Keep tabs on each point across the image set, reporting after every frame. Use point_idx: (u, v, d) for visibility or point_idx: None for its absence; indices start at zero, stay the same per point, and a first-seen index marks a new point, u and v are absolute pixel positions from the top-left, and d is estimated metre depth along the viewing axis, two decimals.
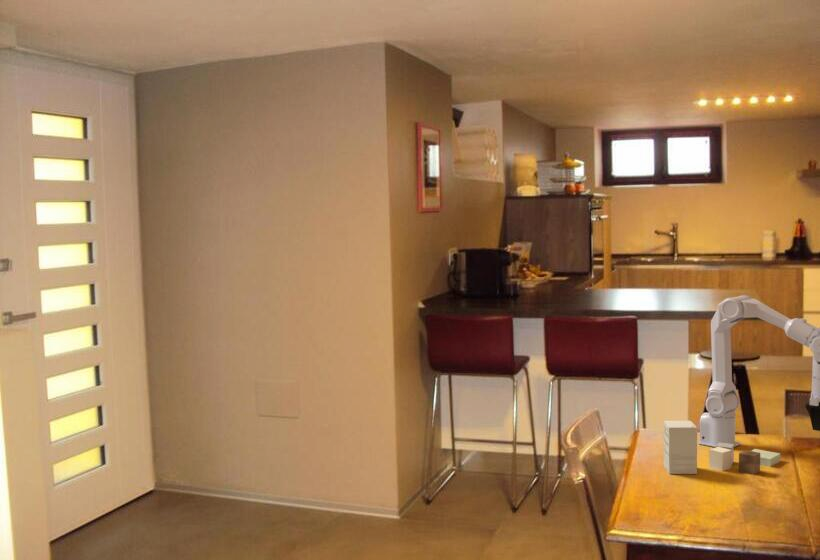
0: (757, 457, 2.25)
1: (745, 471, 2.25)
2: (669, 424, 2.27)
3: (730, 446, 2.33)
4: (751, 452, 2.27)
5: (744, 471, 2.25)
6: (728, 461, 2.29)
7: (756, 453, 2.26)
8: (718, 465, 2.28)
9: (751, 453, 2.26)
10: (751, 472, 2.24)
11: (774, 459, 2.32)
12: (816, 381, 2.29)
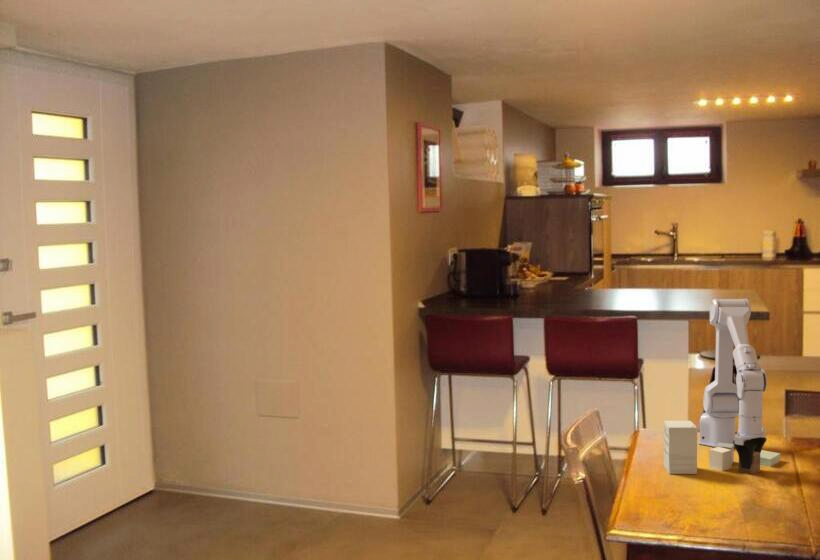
0: (757, 457, 2.25)
1: (745, 471, 2.25)
2: (669, 424, 2.27)
3: (730, 446, 2.33)
4: None
5: (744, 471, 2.25)
6: (728, 461, 2.29)
7: (756, 453, 2.26)
8: (718, 465, 2.28)
9: None
10: (751, 472, 2.24)
11: (774, 459, 2.32)
12: (742, 419, 2.24)
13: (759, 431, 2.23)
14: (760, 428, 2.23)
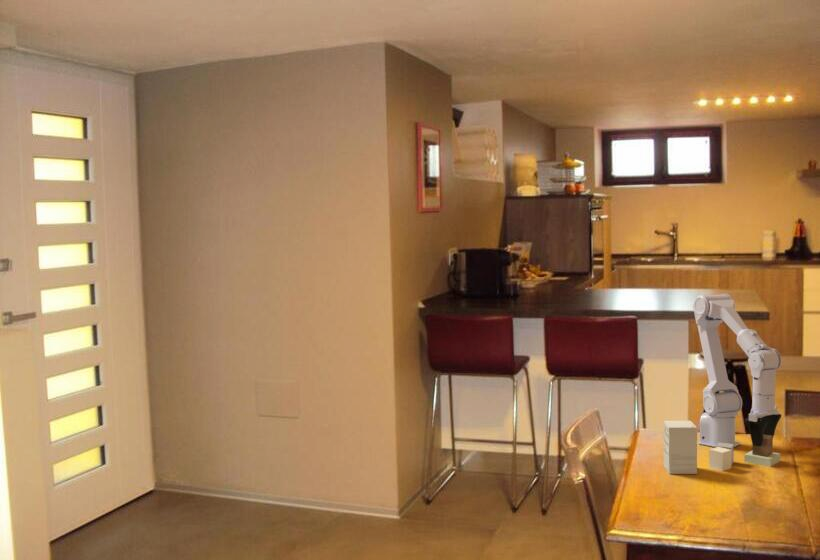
0: (770, 440, 2.33)
1: (759, 453, 2.34)
2: (669, 424, 2.27)
3: (730, 446, 2.33)
4: (764, 435, 2.35)
5: (758, 453, 2.34)
6: (728, 461, 2.29)
7: (769, 436, 2.34)
8: (718, 465, 2.28)
9: (764, 436, 2.34)
10: (765, 454, 2.33)
11: (774, 459, 2.32)
12: (756, 397, 2.32)
13: (772, 408, 2.31)
14: (773, 406, 2.32)
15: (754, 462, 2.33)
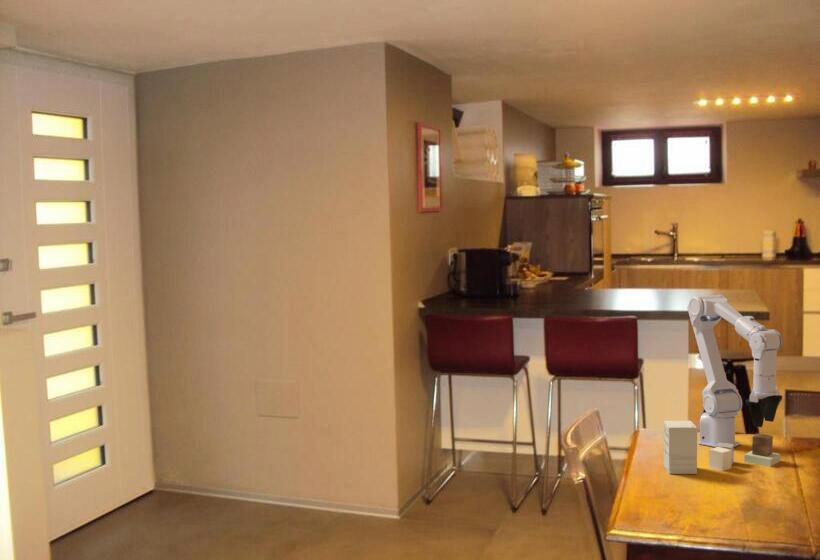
0: (770, 440, 2.34)
1: (759, 453, 2.34)
2: (669, 424, 2.27)
3: (730, 446, 2.33)
4: (764, 435, 2.35)
5: (758, 453, 2.34)
6: (728, 461, 2.29)
7: (769, 436, 2.35)
8: (718, 465, 2.28)
9: (764, 436, 2.35)
10: (765, 454, 2.33)
11: (774, 460, 2.32)
12: (757, 378, 2.32)
13: (773, 389, 2.31)
14: (774, 386, 2.31)
15: (754, 462, 2.33)
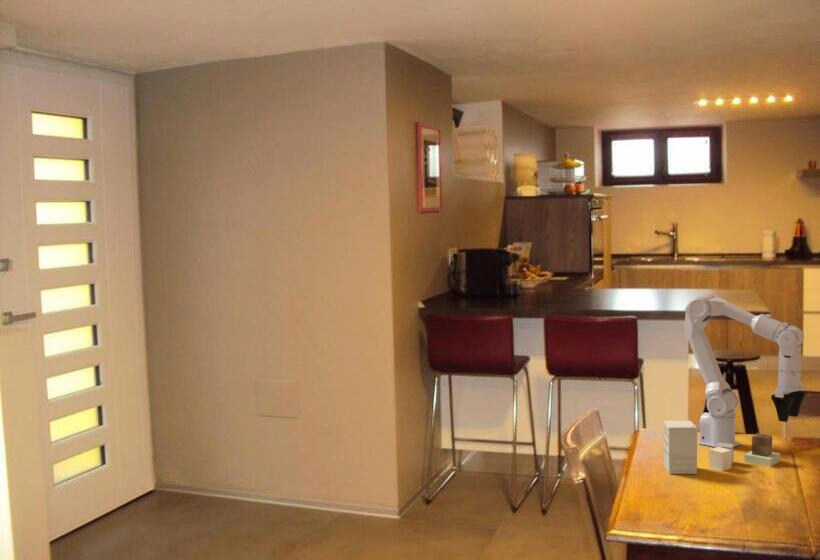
0: (769, 439, 2.34)
1: (758, 453, 2.34)
2: (669, 424, 2.27)
3: (730, 446, 2.33)
4: (764, 435, 2.35)
5: (757, 453, 2.34)
6: (728, 461, 2.29)
7: (768, 436, 2.34)
8: (718, 465, 2.28)
9: (764, 436, 2.34)
10: (764, 454, 2.33)
11: (774, 459, 2.32)
12: (782, 374, 2.37)
13: (798, 385, 2.36)
14: (799, 382, 2.36)
15: (754, 462, 2.33)
